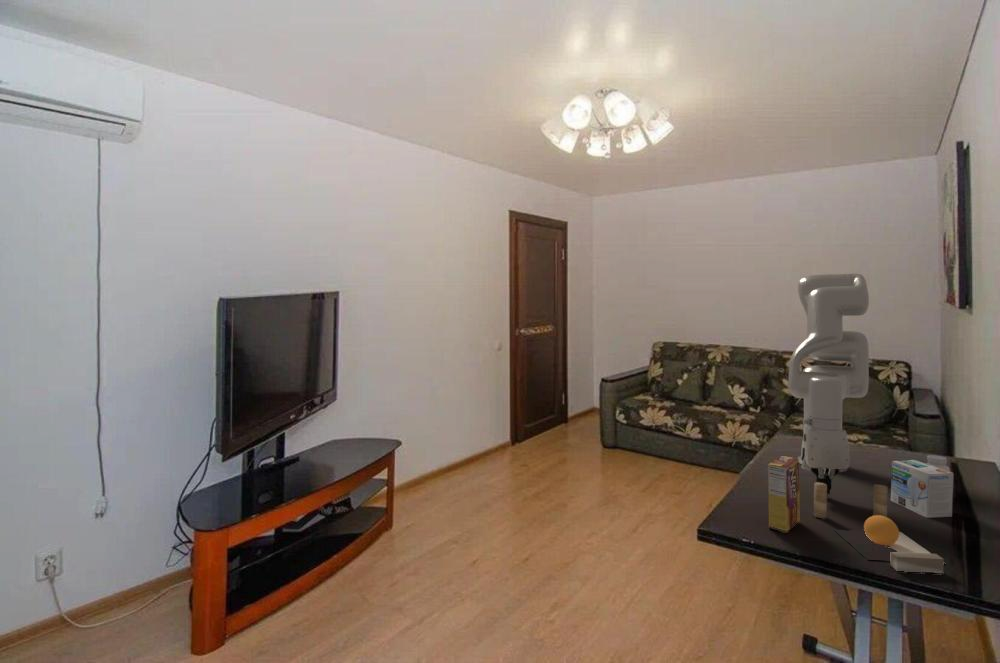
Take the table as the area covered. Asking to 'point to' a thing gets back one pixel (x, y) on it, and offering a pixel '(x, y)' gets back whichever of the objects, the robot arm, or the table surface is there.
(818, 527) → the table surface
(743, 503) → the table surface
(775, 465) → the candy box
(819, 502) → the post
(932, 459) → the supplement bottle
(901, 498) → the light bulb box
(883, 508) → the post
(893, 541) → the ball
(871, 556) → the table surface
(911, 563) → the stopper wall
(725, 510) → the table surface
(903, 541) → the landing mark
